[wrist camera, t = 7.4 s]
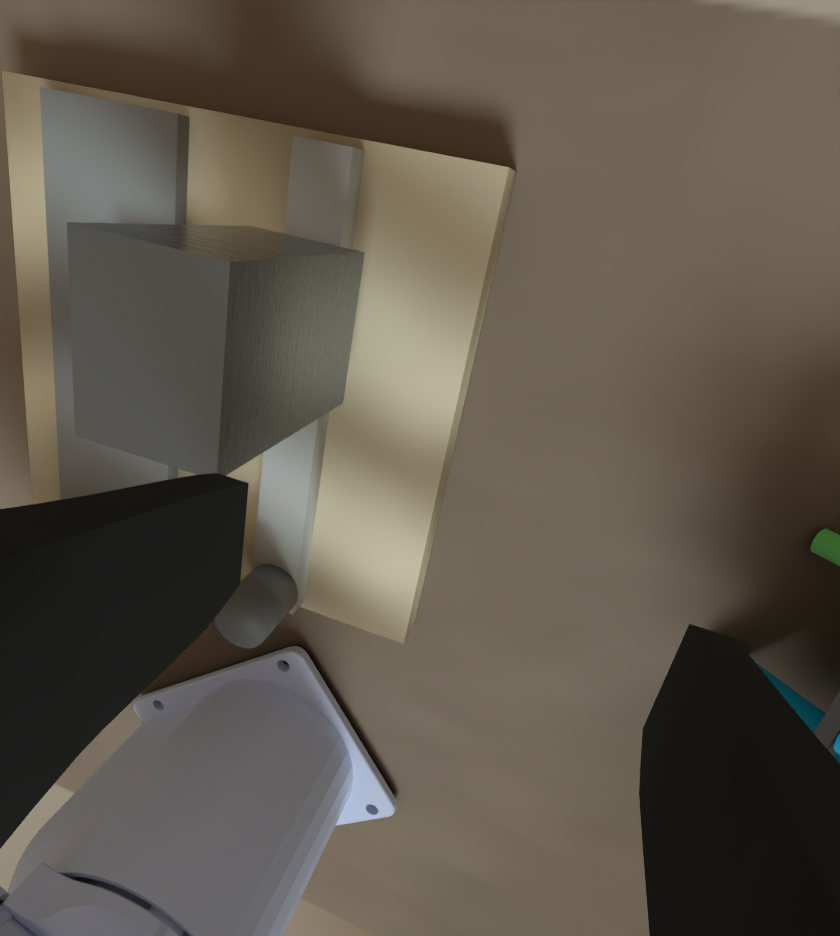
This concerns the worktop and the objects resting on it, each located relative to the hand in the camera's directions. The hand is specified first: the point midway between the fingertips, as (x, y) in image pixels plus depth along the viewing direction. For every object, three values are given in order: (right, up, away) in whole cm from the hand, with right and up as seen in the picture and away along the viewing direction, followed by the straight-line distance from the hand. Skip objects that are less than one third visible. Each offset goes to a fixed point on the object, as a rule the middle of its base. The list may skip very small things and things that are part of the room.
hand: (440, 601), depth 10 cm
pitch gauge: (-6, +5, +10) cm, 13 cm away
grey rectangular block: (-5, +7, +7) cm, 11 cm away
